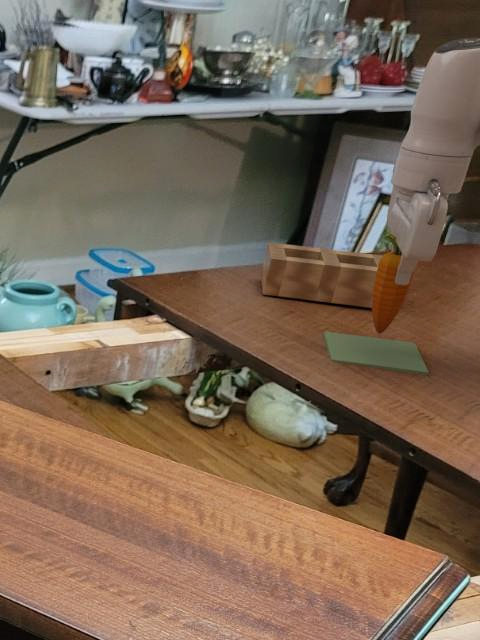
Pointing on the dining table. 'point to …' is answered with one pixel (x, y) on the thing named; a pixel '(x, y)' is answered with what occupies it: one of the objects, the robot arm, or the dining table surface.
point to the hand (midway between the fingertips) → (397, 277)
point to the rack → (319, 274)
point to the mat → (375, 353)
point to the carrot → (388, 289)
